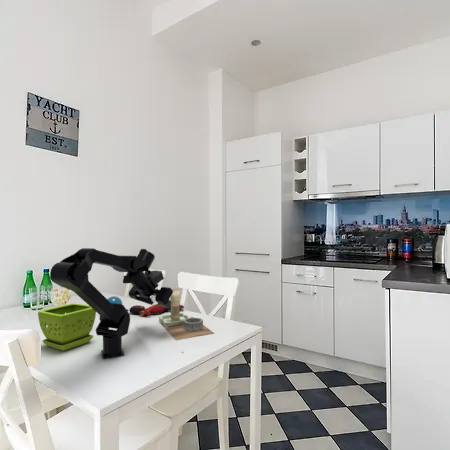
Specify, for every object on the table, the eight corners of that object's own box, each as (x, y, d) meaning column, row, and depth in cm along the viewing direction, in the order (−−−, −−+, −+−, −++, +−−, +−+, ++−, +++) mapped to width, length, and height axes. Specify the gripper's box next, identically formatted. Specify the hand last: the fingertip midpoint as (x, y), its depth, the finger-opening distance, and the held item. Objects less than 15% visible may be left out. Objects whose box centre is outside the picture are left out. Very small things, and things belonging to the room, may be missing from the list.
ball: (101, 313, 148) (101, 296, 148) (117, 310, 154) (116, 293, 154) (109, 316, 142) (109, 299, 142) (125, 313, 148) (125, 296, 148)
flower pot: (98, 341, 112) (97, 306, 112) (60, 355, 100) (60, 316, 100) (74, 335, 119) (73, 301, 119) (36, 347, 107) (36, 310, 107)
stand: (214, 336, 116) (214, 325, 116) (175, 343, 109) (175, 331, 109) (191, 318, 139) (191, 309, 139) (157, 323, 132) (157, 313, 132)
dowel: (181, 320, 130) (181, 289, 130) (174, 322, 127) (173, 290, 127) (176, 319, 132) (176, 288, 133) (169, 320, 130) (169, 289, 130)
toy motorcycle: (127, 315, 149) (137, 318, 136) (127, 304, 150) (136, 306, 137) (176, 309, 163) (189, 311, 149) (175, 299, 163) (188, 300, 150)
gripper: (170, 266, 114) (188, 291, 123) (135, 262, 124) (154, 286, 133) (154, 291, 107) (174, 316, 116) (118, 285, 117) (140, 308, 126)
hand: (160, 305), depth 123 cm, fingers open, 9 cm apart
